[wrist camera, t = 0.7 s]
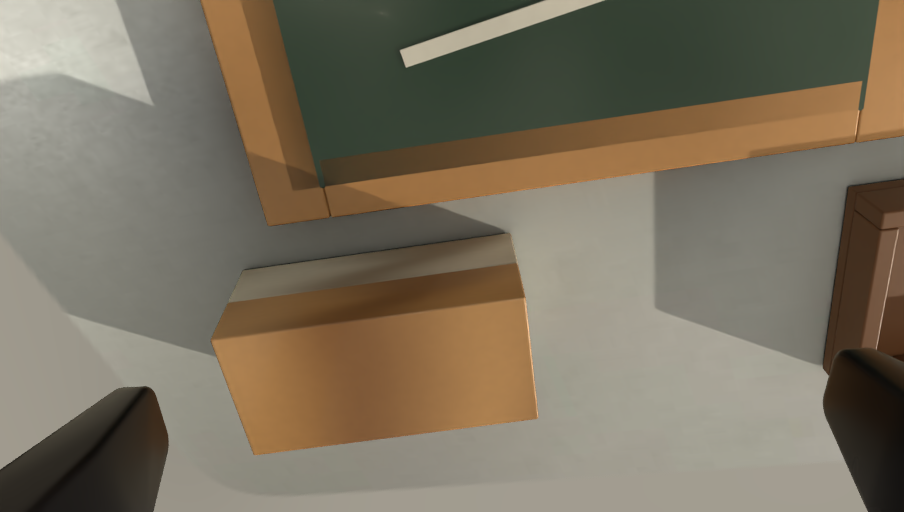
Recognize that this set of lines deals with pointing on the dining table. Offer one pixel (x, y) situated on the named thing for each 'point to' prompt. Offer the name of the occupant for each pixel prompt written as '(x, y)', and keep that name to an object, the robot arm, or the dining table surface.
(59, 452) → the robot arm
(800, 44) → the chalkboard
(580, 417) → the dining table surface
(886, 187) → the chalk tray
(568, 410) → the dining table surface
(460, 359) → the eraser
